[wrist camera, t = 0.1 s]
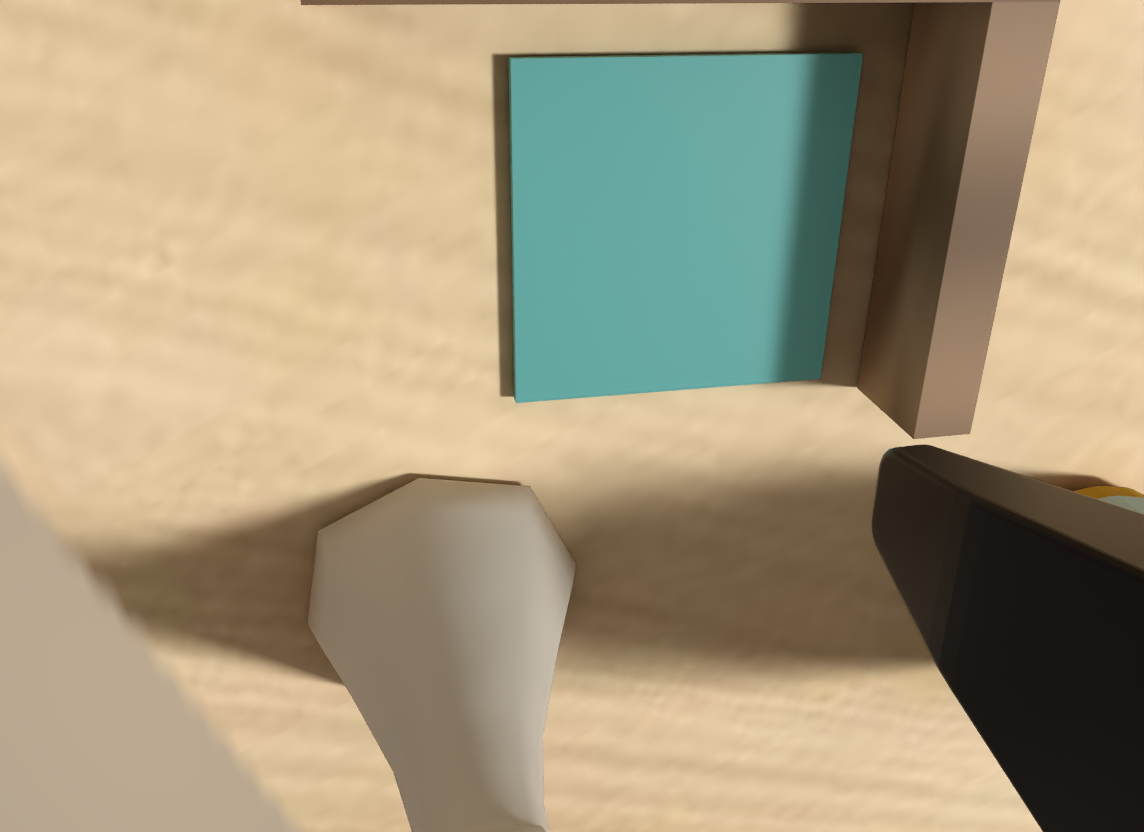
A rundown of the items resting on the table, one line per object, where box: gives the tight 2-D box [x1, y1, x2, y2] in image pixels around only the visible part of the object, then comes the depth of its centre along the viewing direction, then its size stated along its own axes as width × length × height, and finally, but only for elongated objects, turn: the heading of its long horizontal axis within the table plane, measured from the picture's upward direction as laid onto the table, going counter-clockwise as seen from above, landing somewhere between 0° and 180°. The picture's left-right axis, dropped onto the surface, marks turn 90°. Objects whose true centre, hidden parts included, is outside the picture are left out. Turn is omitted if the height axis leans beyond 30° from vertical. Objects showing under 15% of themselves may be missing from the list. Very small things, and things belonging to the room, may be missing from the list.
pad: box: [509, 52, 863, 403], centre depth 24 cm, size 8×8×1 cm
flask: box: [307, 478, 576, 832], centre depth 23 cm, size 7×7×10 cm
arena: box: [301, 0, 1060, 439], centre depth 22 cm, size 11×15×3 cm
